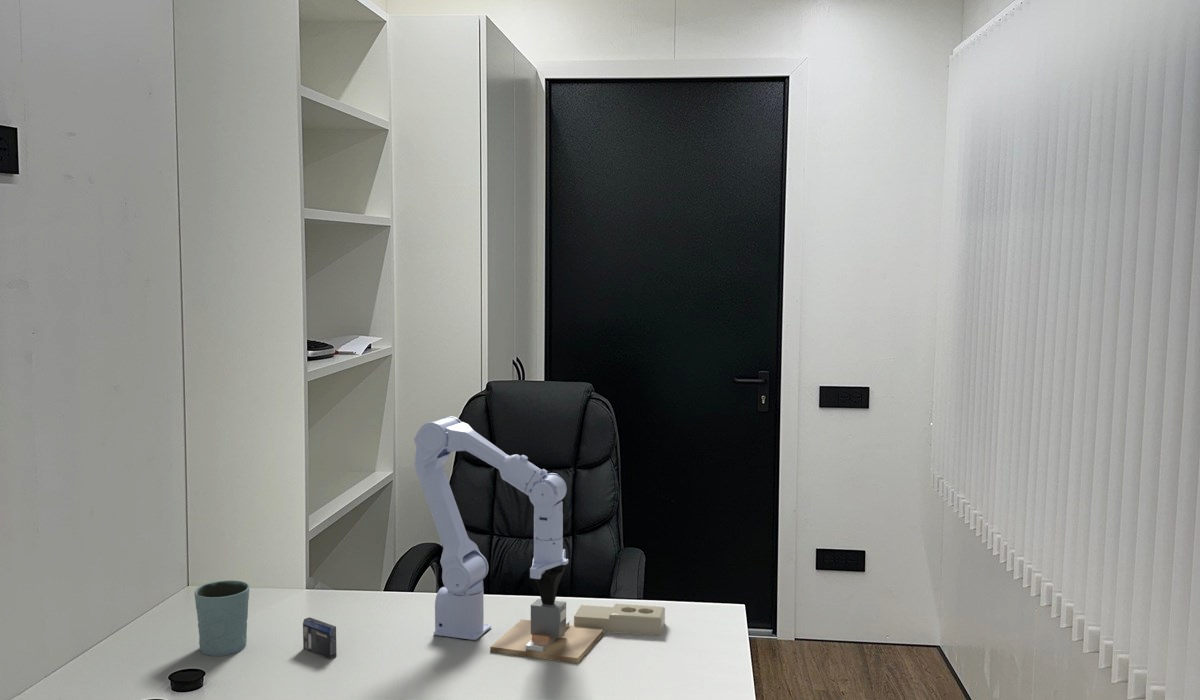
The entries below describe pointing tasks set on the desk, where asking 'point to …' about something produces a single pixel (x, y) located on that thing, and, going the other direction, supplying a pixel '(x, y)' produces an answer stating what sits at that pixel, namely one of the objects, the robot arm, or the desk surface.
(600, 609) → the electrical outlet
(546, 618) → the block
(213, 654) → the teal cup
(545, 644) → the din rail
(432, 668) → the desk surface
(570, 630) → the mounting board
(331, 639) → the mini dv tape
